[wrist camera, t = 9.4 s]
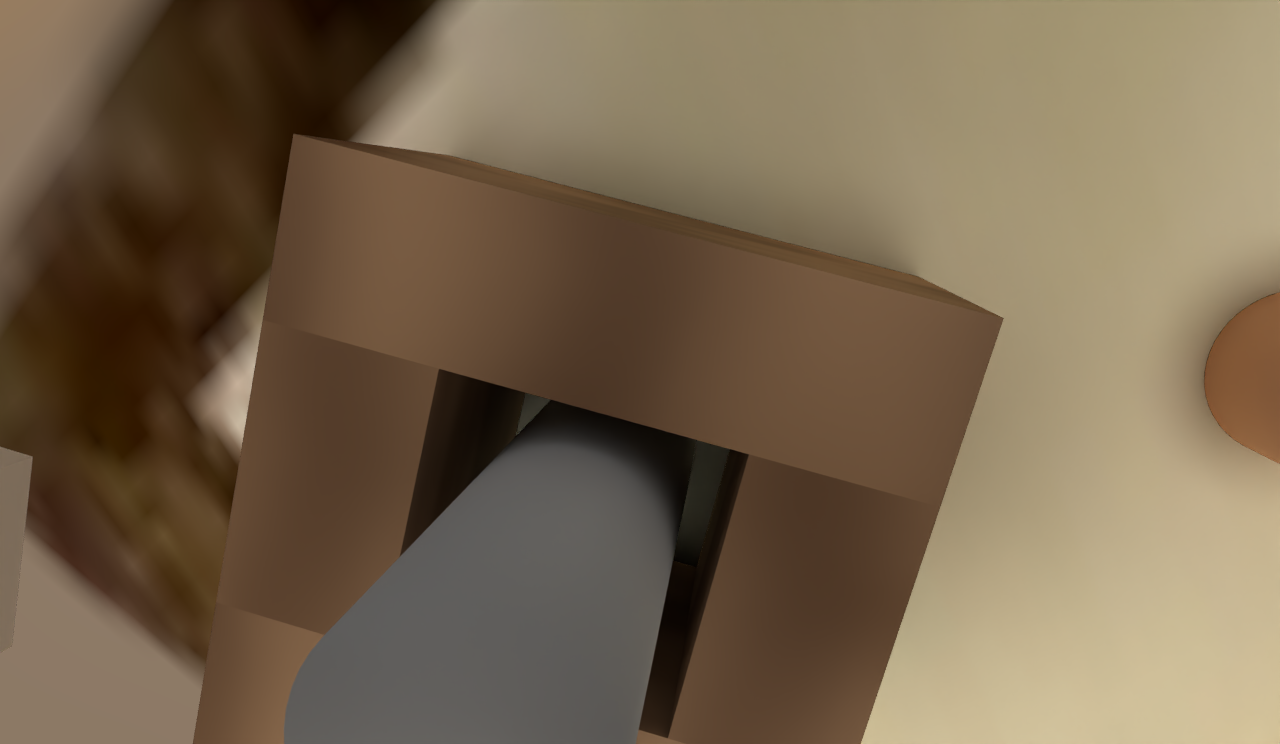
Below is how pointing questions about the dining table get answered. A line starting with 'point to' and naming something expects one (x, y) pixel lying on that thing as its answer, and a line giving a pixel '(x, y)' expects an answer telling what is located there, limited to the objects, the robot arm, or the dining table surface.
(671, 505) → the long dowel
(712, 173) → the dining table surface
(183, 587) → the dining table surface
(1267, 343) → the short dowel
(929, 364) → the hole block
